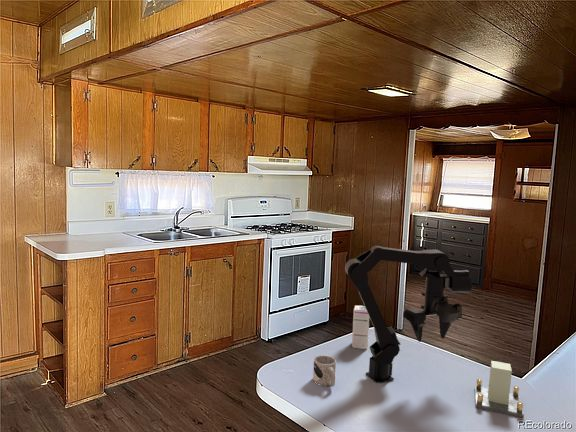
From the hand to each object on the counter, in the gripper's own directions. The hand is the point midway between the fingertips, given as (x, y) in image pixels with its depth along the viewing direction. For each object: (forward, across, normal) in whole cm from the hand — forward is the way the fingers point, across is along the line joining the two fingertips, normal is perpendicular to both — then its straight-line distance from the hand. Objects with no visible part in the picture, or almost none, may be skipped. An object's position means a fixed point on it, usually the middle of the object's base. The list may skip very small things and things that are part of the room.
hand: (430, 339), depth 140 cm
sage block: (+12, +10, -18) cm, 24 cm away
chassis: (+13, +10, -18) cm, 24 cm away
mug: (+13, -32, +8) cm, 36 cm away
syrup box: (+13, -6, +30) cm, 33 cm away
